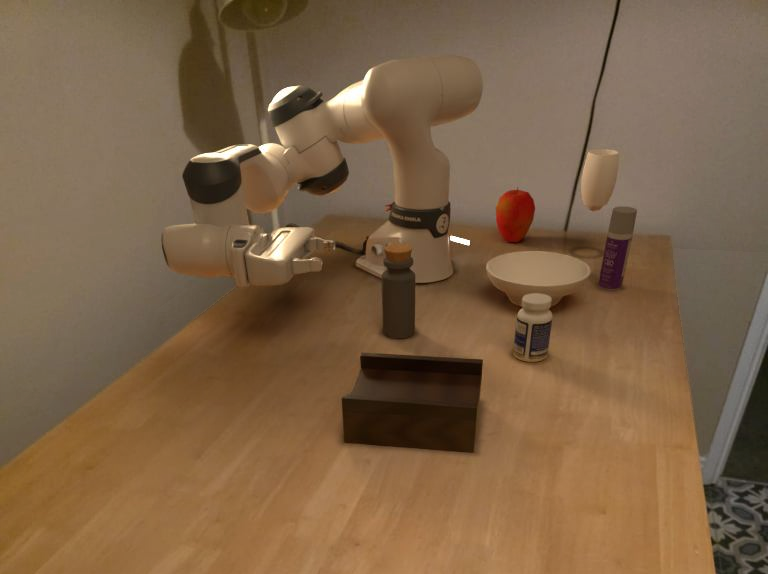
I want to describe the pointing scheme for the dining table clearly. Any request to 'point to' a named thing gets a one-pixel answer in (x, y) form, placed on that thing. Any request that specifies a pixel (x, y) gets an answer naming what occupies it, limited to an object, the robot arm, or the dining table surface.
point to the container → (617, 248)
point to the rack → (414, 402)
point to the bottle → (398, 292)
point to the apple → (514, 214)
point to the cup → (599, 178)
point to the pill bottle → (533, 328)
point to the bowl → (537, 274)
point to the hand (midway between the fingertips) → (328, 255)
